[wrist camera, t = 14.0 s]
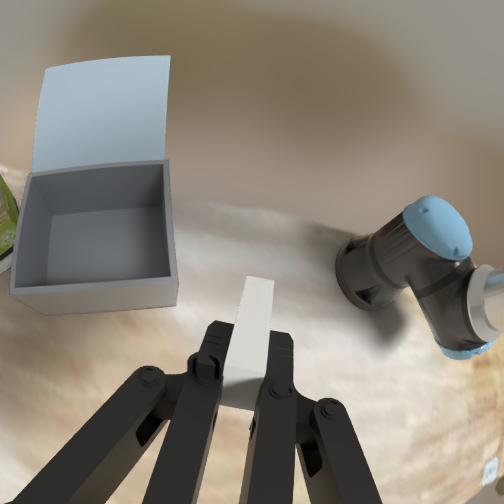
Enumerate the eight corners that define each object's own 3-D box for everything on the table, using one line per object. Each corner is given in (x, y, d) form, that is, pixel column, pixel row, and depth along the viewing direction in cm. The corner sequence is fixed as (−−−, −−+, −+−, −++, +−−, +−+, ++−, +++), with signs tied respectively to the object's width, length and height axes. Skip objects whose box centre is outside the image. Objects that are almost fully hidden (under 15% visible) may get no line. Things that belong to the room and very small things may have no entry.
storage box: (165, 204, 48) (168, 159, 38) (175, 306, 42) (178, 282, 31) (50, 214, 41) (28, 173, 30) (44, 315, 34) (9, 294, 24)
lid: (165, 159, 37) (165, 160, 38) (170, 55, 35) (170, 57, 35) (31, 172, 30) (33, 173, 31) (46, 68, 28) (47, 70, 28)
